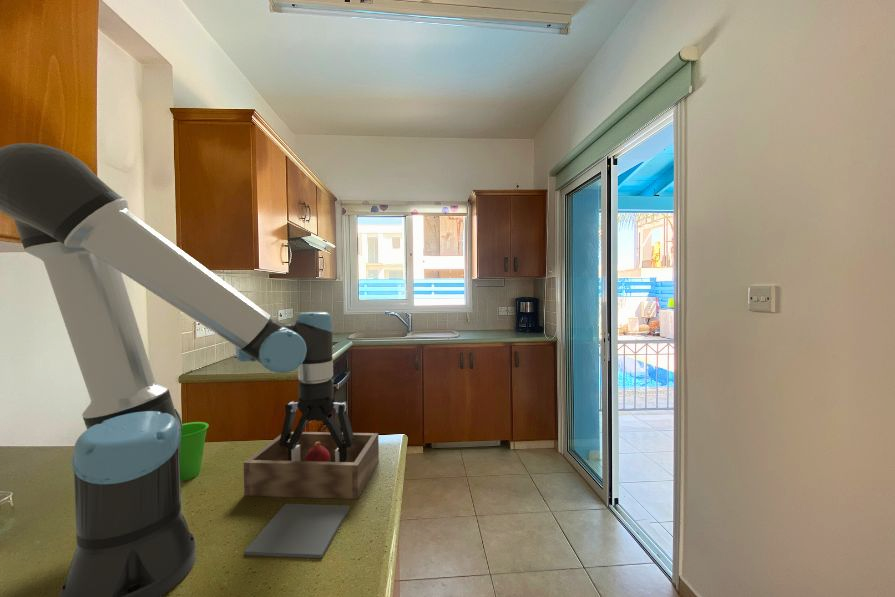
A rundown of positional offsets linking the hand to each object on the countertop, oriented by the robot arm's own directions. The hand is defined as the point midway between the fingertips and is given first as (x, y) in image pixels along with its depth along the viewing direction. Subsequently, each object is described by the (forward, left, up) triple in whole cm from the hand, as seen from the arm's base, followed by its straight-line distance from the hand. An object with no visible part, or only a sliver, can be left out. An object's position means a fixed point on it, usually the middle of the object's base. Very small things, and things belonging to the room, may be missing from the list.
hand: (317, 475), depth 82 cm
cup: (-31, -1, 0) cm, 31 cm away
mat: (+5, -18, 0) cm, 19 cm away
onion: (0, 0, 0) cm, 0 cm away
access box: (0, 0, 0) cm, 0 cm away
